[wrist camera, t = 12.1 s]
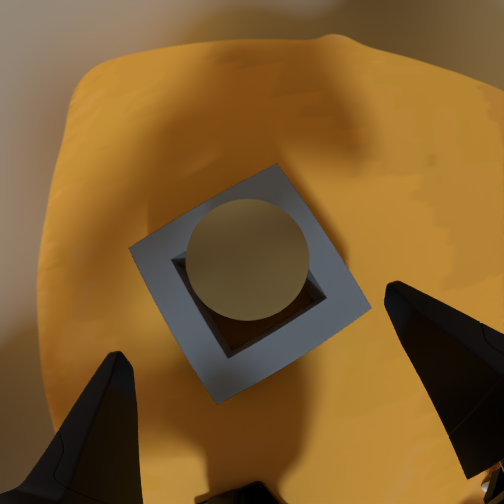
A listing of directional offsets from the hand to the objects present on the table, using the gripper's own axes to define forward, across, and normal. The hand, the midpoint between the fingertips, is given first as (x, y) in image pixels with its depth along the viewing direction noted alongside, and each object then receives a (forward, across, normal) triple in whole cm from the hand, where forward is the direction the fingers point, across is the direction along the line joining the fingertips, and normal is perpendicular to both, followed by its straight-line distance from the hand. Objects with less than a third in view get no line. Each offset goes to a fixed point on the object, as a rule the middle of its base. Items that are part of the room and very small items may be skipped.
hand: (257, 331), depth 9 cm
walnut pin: (+10, 0, +7) cm, 12 cm away
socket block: (+10, 0, +7) cm, 12 cm away
